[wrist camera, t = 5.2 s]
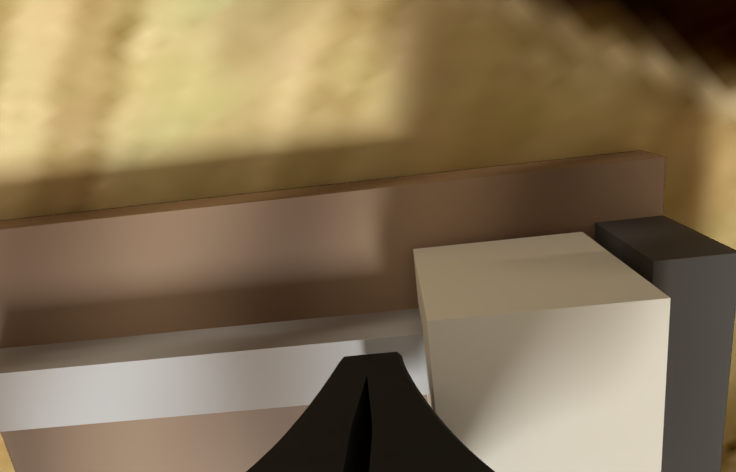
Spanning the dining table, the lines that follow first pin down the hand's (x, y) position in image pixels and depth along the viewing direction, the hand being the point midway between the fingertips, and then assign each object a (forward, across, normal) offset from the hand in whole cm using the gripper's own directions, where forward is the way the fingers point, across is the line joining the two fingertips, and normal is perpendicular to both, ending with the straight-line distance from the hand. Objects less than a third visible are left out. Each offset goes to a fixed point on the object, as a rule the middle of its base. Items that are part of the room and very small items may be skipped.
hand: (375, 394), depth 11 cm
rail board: (+4, +2, 0) cm, 4 cm away
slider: (+2, -3, 0) cm, 4 cm away
